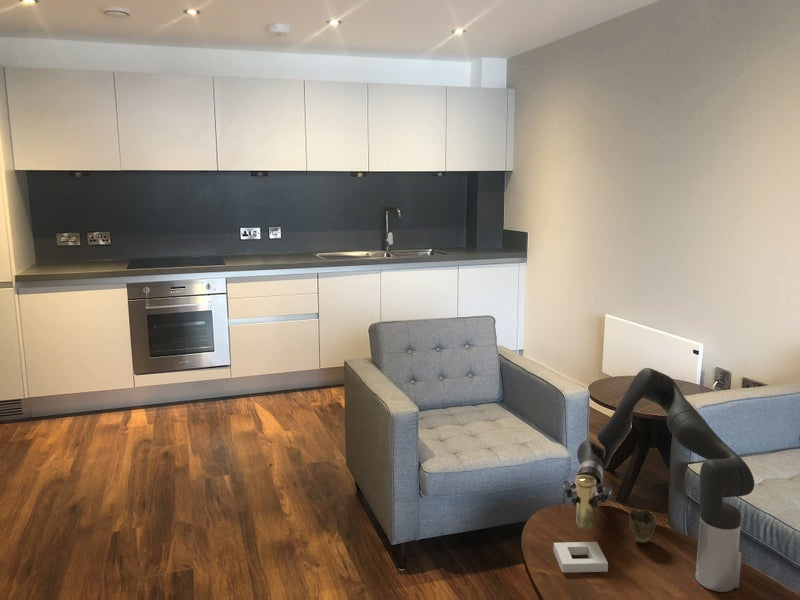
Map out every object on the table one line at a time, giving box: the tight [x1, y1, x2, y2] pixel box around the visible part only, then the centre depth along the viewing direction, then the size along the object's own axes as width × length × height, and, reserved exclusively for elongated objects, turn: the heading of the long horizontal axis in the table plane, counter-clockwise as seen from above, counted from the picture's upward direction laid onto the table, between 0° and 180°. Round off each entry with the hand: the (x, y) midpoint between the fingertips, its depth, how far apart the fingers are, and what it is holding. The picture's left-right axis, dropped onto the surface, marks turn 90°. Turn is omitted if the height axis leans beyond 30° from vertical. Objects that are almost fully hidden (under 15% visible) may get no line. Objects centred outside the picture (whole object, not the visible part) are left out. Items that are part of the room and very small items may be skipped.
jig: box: [553, 541, 609, 574], centre depth 179 cm, size 12×10×2 cm
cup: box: [628, 509, 658, 544], centre depth 188 cm, size 8×7×8 cm
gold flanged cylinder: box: [574, 475, 596, 530], centre depth 188 cm, size 6×6×14 cm
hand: (584, 503), depth 185 cm, fingers closed on gold flanged cylinder, 4 cm apart
